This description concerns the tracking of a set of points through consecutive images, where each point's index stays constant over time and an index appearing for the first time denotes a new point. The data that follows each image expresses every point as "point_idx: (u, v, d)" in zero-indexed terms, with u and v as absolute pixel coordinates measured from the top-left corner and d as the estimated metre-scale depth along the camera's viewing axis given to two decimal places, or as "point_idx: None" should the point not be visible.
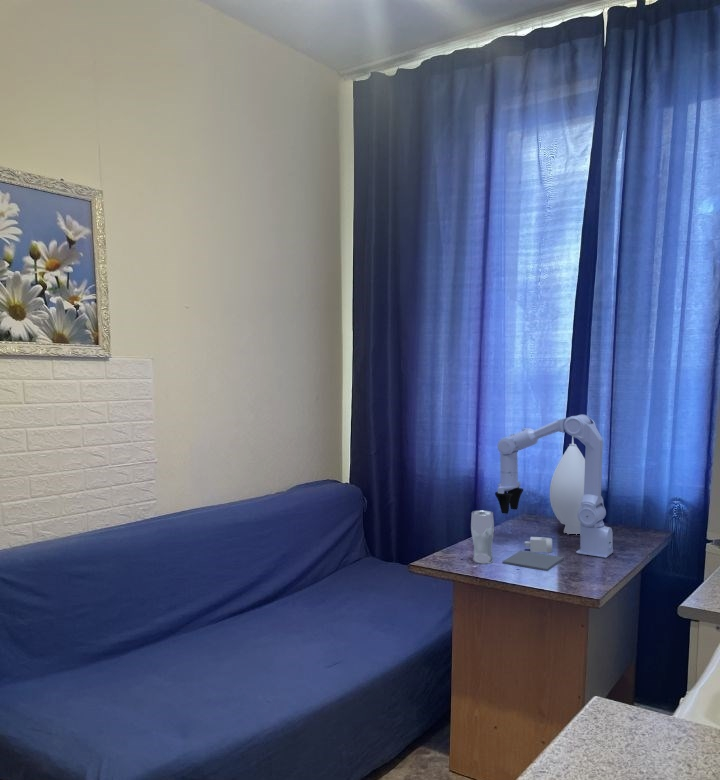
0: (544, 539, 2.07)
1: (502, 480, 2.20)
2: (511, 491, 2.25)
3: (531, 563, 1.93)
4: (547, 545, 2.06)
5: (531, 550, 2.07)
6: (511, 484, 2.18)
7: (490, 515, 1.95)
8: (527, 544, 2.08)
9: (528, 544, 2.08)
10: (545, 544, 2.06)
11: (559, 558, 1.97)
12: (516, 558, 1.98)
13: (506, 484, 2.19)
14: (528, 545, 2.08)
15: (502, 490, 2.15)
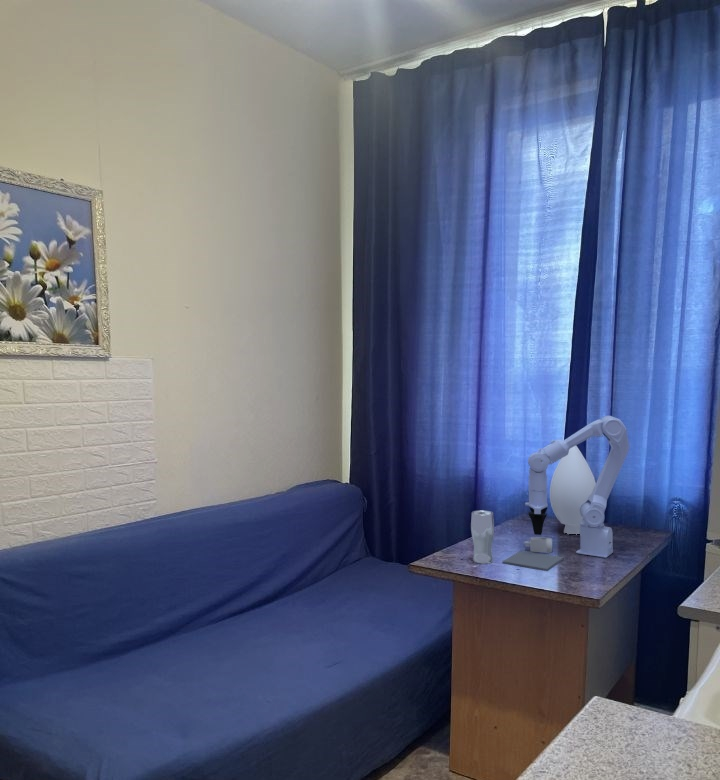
0: (544, 539, 2.07)
1: (533, 499, 2.06)
2: None
3: (531, 563, 1.93)
4: (547, 545, 2.06)
5: (531, 550, 2.07)
6: (543, 503, 2.05)
7: (490, 515, 1.95)
8: (527, 544, 2.08)
9: (528, 544, 2.08)
10: (545, 544, 2.06)
11: (559, 558, 1.97)
12: (516, 558, 1.98)
13: (538, 503, 2.05)
14: (528, 545, 2.08)
15: (539, 510, 2.01)
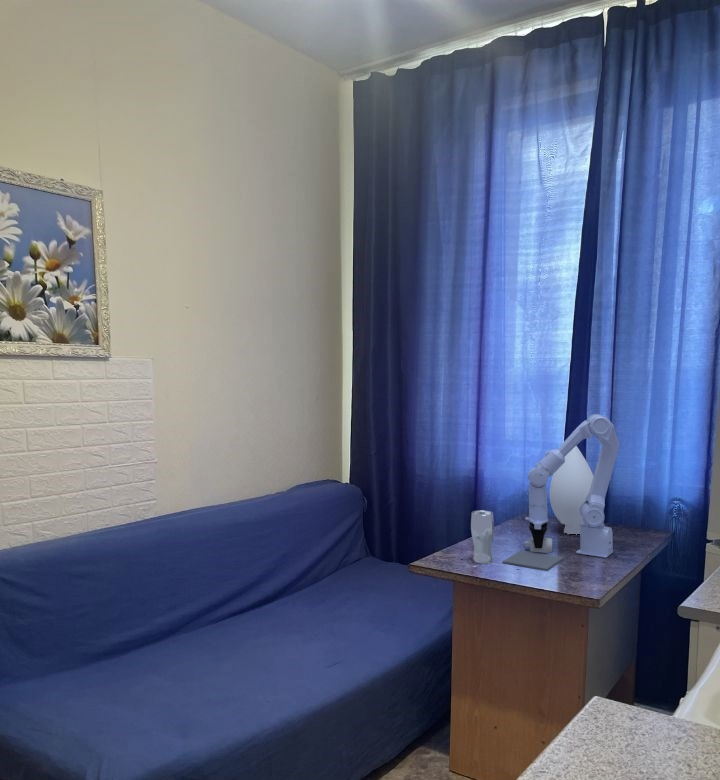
0: (544, 539, 2.07)
1: (533, 514, 2.06)
2: None
3: (531, 563, 1.93)
4: (547, 545, 2.06)
5: (531, 550, 2.07)
6: (543, 518, 2.05)
7: (490, 515, 1.95)
8: (527, 544, 2.08)
9: (528, 544, 2.08)
10: (545, 544, 2.06)
11: (559, 558, 1.97)
12: (516, 558, 1.98)
13: (538, 518, 2.05)
14: (528, 545, 2.08)
15: (540, 526, 2.01)
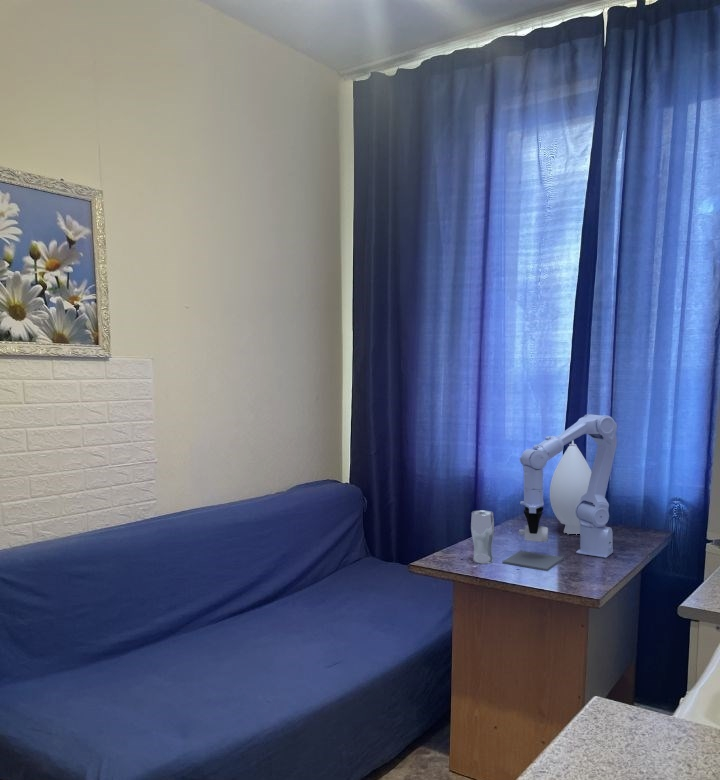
0: (539, 528, 1.98)
1: (528, 498, 1.97)
2: None
3: (531, 563, 1.93)
4: (542, 534, 1.97)
5: (525, 539, 1.98)
6: (539, 502, 1.96)
7: (490, 515, 1.95)
8: (521, 532, 1.99)
9: (522, 532, 1.99)
10: (541, 533, 1.97)
11: (559, 558, 1.97)
12: (516, 558, 1.98)
13: (533, 502, 1.96)
14: (522, 533, 1.99)
15: (535, 509, 1.92)
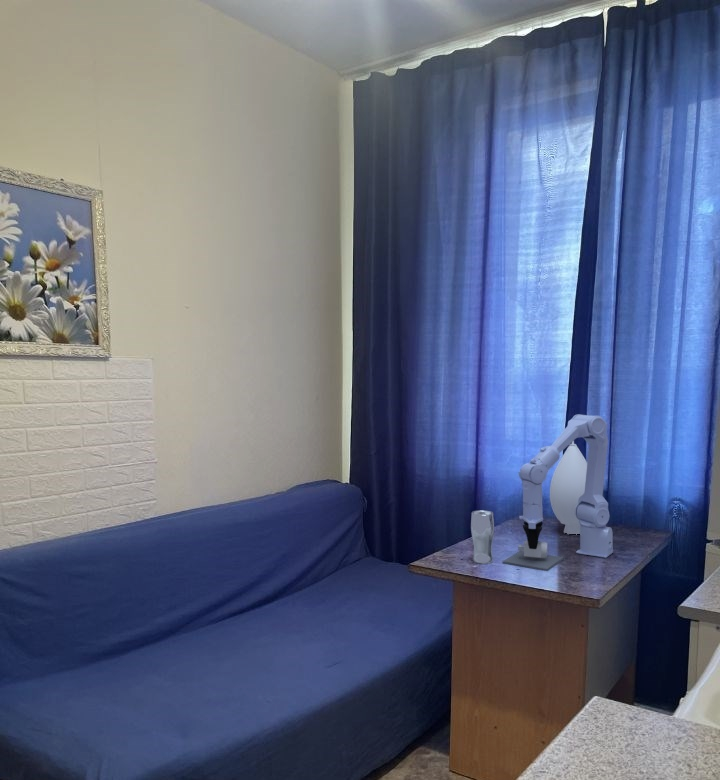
0: (539, 543, 1.96)
1: (527, 513, 1.95)
2: None
3: (531, 563, 1.93)
4: (541, 549, 1.94)
5: (525, 554, 1.96)
6: (538, 517, 1.94)
7: (490, 515, 1.95)
8: (521, 548, 1.97)
9: (522, 548, 1.97)
10: (540, 549, 1.94)
11: (559, 558, 1.97)
12: (516, 558, 1.98)
13: (533, 517, 1.94)
14: (522, 549, 1.97)
15: (534, 525, 1.89)
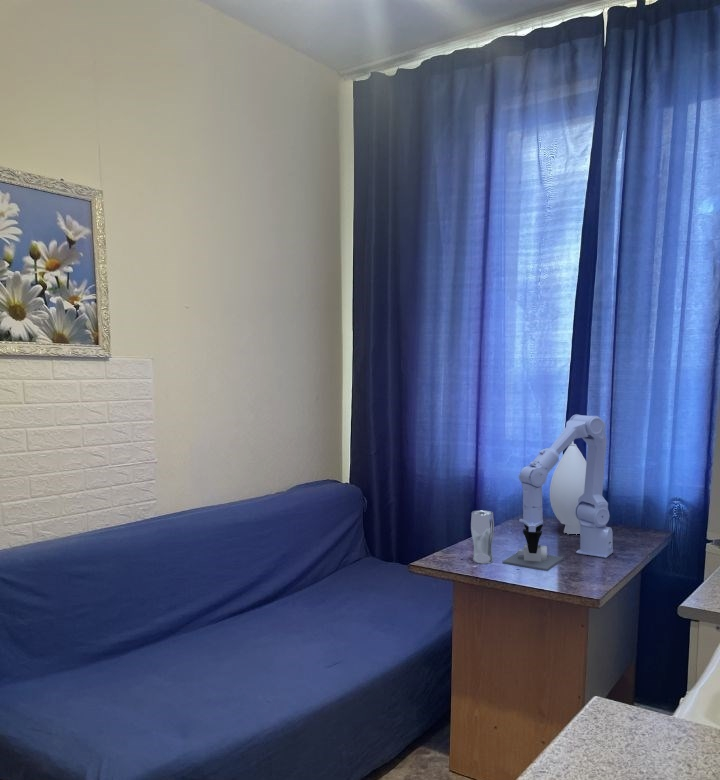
0: (538, 547, 1.96)
1: (527, 516, 1.95)
2: None
3: (531, 563, 1.93)
4: (541, 553, 1.94)
5: (525, 559, 1.96)
6: (538, 520, 1.94)
7: (490, 515, 1.95)
8: (520, 552, 1.97)
9: (521, 552, 1.97)
10: (540, 553, 1.95)
11: (559, 558, 1.97)
12: (516, 558, 1.98)
13: (533, 520, 1.94)
14: (521, 553, 1.97)
15: (534, 528, 1.89)
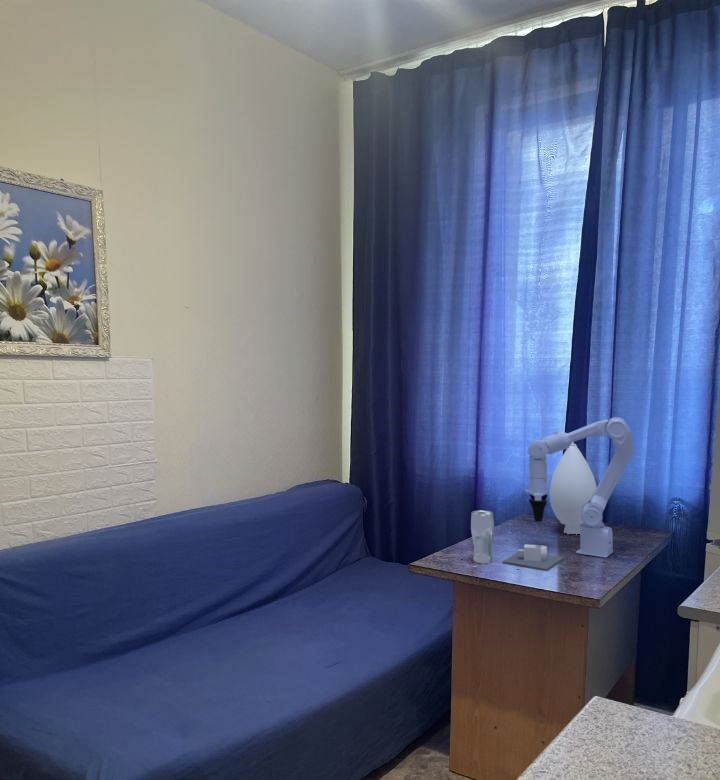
0: (538, 547, 1.96)
1: (533, 486, 2.08)
2: None
3: (531, 563, 1.93)
4: (541, 553, 1.94)
5: (525, 559, 1.96)
6: (543, 490, 2.08)
7: (490, 515, 1.95)
8: (520, 552, 1.97)
9: (521, 552, 1.97)
10: (540, 553, 1.95)
11: (559, 558, 1.97)
12: (516, 558, 1.98)
13: (538, 490, 2.07)
14: (521, 553, 1.97)
15: (540, 497, 2.03)
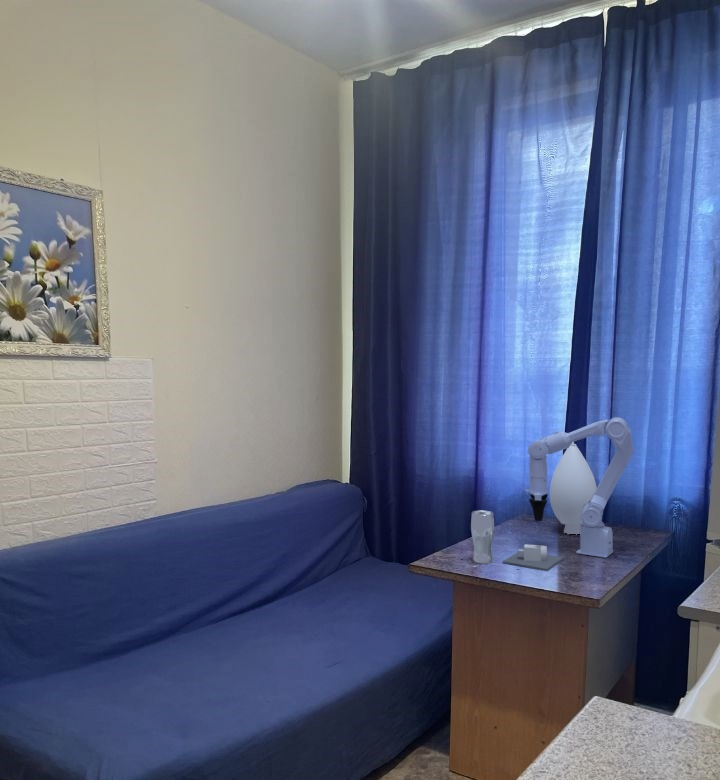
0: (538, 547, 1.96)
1: (533, 486, 2.09)
2: None
3: (531, 563, 1.93)
4: (541, 553, 1.94)
5: (525, 559, 1.96)
6: (544, 490, 2.08)
7: (490, 515, 1.95)
8: (520, 552, 1.97)
9: (521, 552, 1.97)
10: (540, 553, 1.95)
11: (559, 558, 1.97)
12: (516, 558, 1.98)
13: (539, 490, 2.08)
14: (521, 553, 1.97)
15: (540, 497, 2.04)
